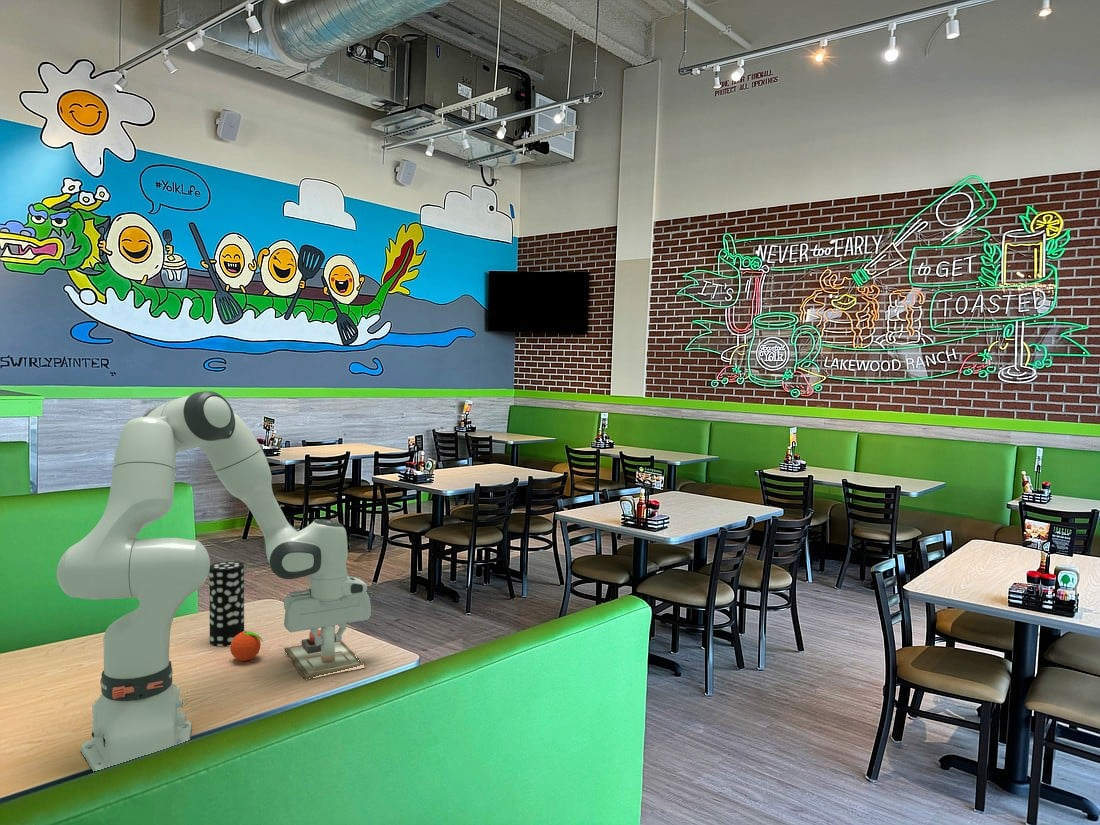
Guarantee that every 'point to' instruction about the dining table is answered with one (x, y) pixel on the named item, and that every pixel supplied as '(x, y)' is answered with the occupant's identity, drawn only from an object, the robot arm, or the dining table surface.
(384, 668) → the dining table surface
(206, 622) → the dining table surface
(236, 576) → the spotted tube
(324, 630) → the cylinder
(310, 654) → the board
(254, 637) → the clementine
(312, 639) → the button
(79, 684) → the dining table surface
